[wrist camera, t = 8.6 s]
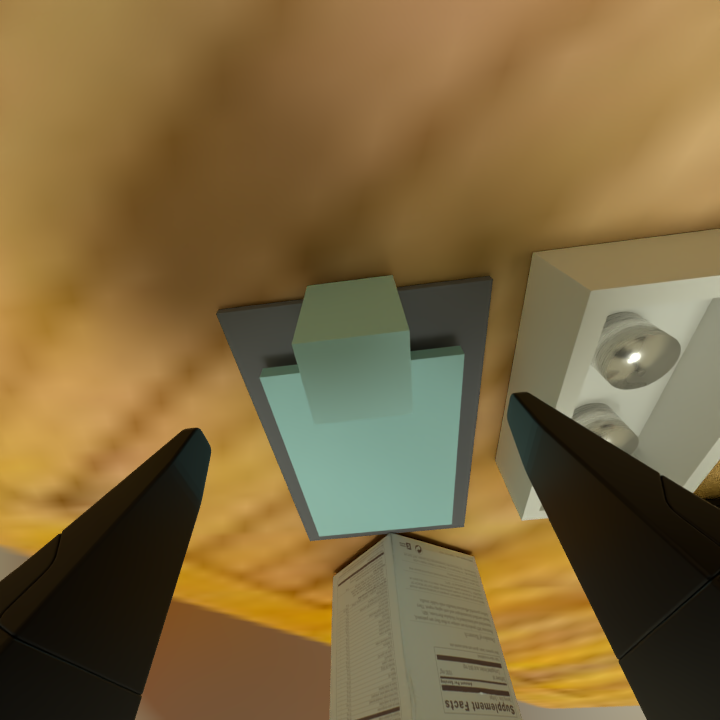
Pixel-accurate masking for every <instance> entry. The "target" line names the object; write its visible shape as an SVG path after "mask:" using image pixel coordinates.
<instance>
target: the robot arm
mask: <svg viewBox="0 0 720 720" xmlns="http://www.w3.org/2000/svg"><path fill="white" fill-rule="evenodd" d="M507 421H508V424H509V427H510V430H511V432H512V435H513V438H514V441H515V444H516V446H517V449H518V452H519V455H520V458H521V461H522V463H523V466H524V469H525V471H526V473H527V475H528V478H529V480H530V482H531V484H532V486H533V488H534V490H535V492H536V494H537V496H538V498H539V500H540V502H541V504H542V506H543V508H544V510H545V512H546V514H547V516H548V518H549V521H550V523H551V525H552V527H553V529H554V531H555V533H556V535H557V537H558V539H559V541H560V543H561V545H562V547H563V549H564V551H565V553H566V555H567V557H568V559H569V561H570V563H571V565H572V567H573V569H574V572H575V574H576V576H577V578H578V580H579V582H580V584H581V586H582V588H583V590H584V592H585V594H586V596H587V598H588V600H589V602H590V604H591V606H592V608H593V610H594V612H595V614H596V616H597V618H598V620H599V623H600V625H601V627H602V629H603V631H604V633H605V635H606V637H607V639H608V641H609V643H610V645H611V647H612V649H613V651H614V653H615V655H616V657H617V659H619V664H620V666H621V668H622V670H623V672H624V674H625V676H626V678H627V680H628V682H629V684H630V686H631V688H632V690H633V692H634V694H635V696H636V699H637V701H638V703H639V705H640V707H641V709H642V711H643V713H644V715H645V717H646V719H647V720H720V499H715V500H704V499H702V498H700V497H699V496H697V495H695V494H694V493H692V492H690V491H689V490H687V489H685V488H684V487H682V486H680V485H679V484H677V483H675V482H674V481H672V480H670V479H669V478H667V477H666V476H664V475H661V476H660V473H659V472H657V471H656V470H654V469H652V468H651V467H649V466H647V465H646V464H644V463H643V462H641V461H639V460H638V459H636V458H634V457H633V456H631V455H630V454H628V453H626V452H625V451H623V450H621V449H620V448H618V447H617V446H615V445H613V444H612V443H610V442H608V441H607V440H605V439H604V438H602V437H600V436H599V435H597V434H595V433H594V432H592V431H591V430H589V429H587V428H586V427H584V426H582V425H581V424H579V423H578V422H576V421H574V420H573V419H571V418H569V417H568V416H566V415H565V414H563V413H561V412H560V411H558V410H556V409H555V408H553V407H552V406H550V405H548V404H547V403H545V402H543V401H542V400H540V399H539V398H537V397H535V396H534V395H532V394H530V393H529V392H516V393H512V394H511V396H510V400H509V405H508V410H507ZM210 456H211V447H210V445H209V443H208V441H207V439H206V438H205V436H204V434H203V432H202V431H201V429H199V428H189V429H184V430H182V431H181V432H180V433H179V434H177V435H176V436H175V437H174V438H173V439H172V440H170V441H169V442H168V443H167V444H166V445H164V446H163V447H162V448H161V449H160V450H158V451H157V452H156V453H155V454H154V455H152V456H151V457H150V458H149V459H148V460H146V461H145V462H144V463H143V464H142V465H141V466H139V467H138V468H137V469H136V470H135V471H133V472H132V473H131V474H130V475H129V476H127V477H126V478H125V479H124V480H123V481H121V482H120V483H119V484H118V485H117V486H115V487H114V488H113V489H112V490H111V491H110V492H108V493H107V494H106V495H105V496H104V497H102V498H101V499H100V500H99V501H98V502H96V503H95V504H94V505H93V506H92V507H90V508H89V509H88V510H87V511H86V512H84V513H83V514H82V515H81V516H80V517H78V518H77V519H76V520H75V521H74V522H73V523H71V524H70V525H69V526H68V527H67V528H65V529H64V530H63V531H62V534H58V535H57V536H56V537H55V538H53V539H52V540H51V541H50V542H49V543H47V544H46V545H45V546H44V547H43V548H41V549H40V550H39V551H38V552H37V553H35V554H34V555H33V556H32V557H30V558H29V559H28V560H27V561H26V562H24V563H23V564H22V565H21V566H20V567H18V568H17V569H16V570H14V571H13V572H12V573H10V574H9V575H8V576H7V577H5V578H4V579H3V580H1V581H0V720H135V717H136V714H137V711H138V707H139V704H140V701H141V697H142V696H141V694H142V693H143V690H144V687H145V684H146V680H147V677H148V674H149V670H150V668H151V664H152V661H153V658H154V655H155V651H156V648H157V645H158V642H159V638H160V635H161V632H162V629H163V625H164V622H165V619H166V616H167V612H168V609H169V606H170V603H171V600H172V596H173V593H174V590H175V587H176V583H177V580H178V577H179V574H180V570H181V567H182V564H183V561H184V557H185V554H186V551H187V548H188V544H189V541H190V538H191V535H192V531H193V528H194V525H195V522H196V518H197V515H198V512H199V508H200V505H201V501H202V497H203V492H204V487H205V482H206V476H207V471H208V466H209V461H210Z"/></svg>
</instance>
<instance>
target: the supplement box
mask: <svg viewBox="0 0 720 720" xmlns="http://www.w3.org/2000/svg"><path fill="white" fill-rule="evenodd" d="M330 720H522V717H521V714H520V710H519V707H518V703H517V700H516V696H515V693H514V690H513V686H512V683H511V680H510V676H509V673H508V670H507V666H506V663H505V660H504V656H503V653H502V649H501V646H500V643H499V639H498V636H497V632H496V629H495V626H494V622H493V619H492V616H491V612H490V609H489V606H488V602H487V599H486V595H485V592H484V589H483V585H482V582H481V578H480V575H479V572H478V568H477V565H476V562H475V558H474V556H470V555H467V554H464V553H460V552H457V551H453V550H450V549H446V548H443V547H439V546H436V545H433V544H429V543H426V542H422V541H419V540H415V539H412V538H408V537H405V536H401V535H398V534H395V533H389V534H388V535H387V536H386V537H384V538H383V539H382V540H380V541H379V542H378V543H377V544H375V545H374V546H373V547H371V548H370V549H369V550H367V551H366V552H365V553H363V554H362V555H361V556H359V557H358V558H357V559H355V560H354V561H353V562H352V563H350V564H349V565H348V566H346V567H345V568H344V569H343V570H341V571H340V572H339V573H337V574H336V575H335V576H333V602H332V645H331V686H330Z"/></svg>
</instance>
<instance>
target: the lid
mask: <svg viewBox="0 0 720 720" xmlns="http://www.w3.org/2000/svg"><path fill="white" fill-rule="evenodd" d="M292 347H293V351H294V354H295V358H296V361H297V365H288V366H280V367H271V368H263V369H262V372H261V375H260V380H261V383H262V386H263V388H264V391H265V394H266V396H267V399H268V402H269V404H270V407H271V409H272V412H273V415H274V417H275V420H276V423H277V425H278V428H279V431H280V433H281V436H282V439H283V441H284V444H285V447H286V449H287V452H288V455H289V457H290V460H291V463H292V465H293V468H294V470H295V473H296V476H297V478H298V481H299V484H300V486H301V489H302V492H303V494H304V497H305V500H306V502H307V505H308V508H309V510H310V513H311V516H312V518H313V521H314V524H315V526H316V529H317V531H318V534H319V536H330V535H341V534H352V533H363V532H374V531H385V530H395V529H406V528H417V527H428V526H439V525H450V524H452V515H453V501H454V488H455V475H456V461H457V448H458V435H459V421H460V408H461V394H462V381H463V368H464V352H463V350H462V348H461V346H452V347H443V348H434V349H426V350H417V351H410V330H409V327H408V324H407V320H406V317H405V314H404V310H403V307H402V304H401V301H400V297H399V294H398V291H397V288H396V284H395V281H394V278H393V275H389V276H381V277H373V278H365V279H357V280H349V281H341V282H334V283H326V284H318V285H310V286H307V288H306V292H305V296H304V300H303V303H302V307H301V311H300V315H299V318H298V322H297V326H296V330H295V334H294V337H293V341H292Z"/></svg>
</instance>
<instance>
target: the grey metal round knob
mask: <svg viewBox="0 0 720 720" xmlns="http://www.w3.org/2000/svg"><path fill="white" fill-rule="evenodd" d="M680 353H681V346H680V343H679V342H678V340H676V339H675V338H674V337H672V336H671V335H669V334H667V333H666V332H664V331H663V330H661V329H660V328H658V327H657V326H655V325H653V324H652V323H650V322H649V321H647V320H646V319H644V318H642V317H641V316H639V315H638V314H636V313H633V312H618V313H614V314H611V315H608V316H607V318H606V321H605V324H604V327H603V330H602V333H601V335H600V338H599V341H598V344H597V347H596V350H595V353H594V355H593V358H592V361H591V364H590V365H591V366H592V367H593V368H594V369H595V370H596V371H597V372H598V373H599V374H600V375H601V376H602V377H603V378H604V379H605V380H606V381H608V382H609V383H610V384H611V385H612V386H613V387H615V388H618V389H623V390H630V389H637V388H641V387H644V386H646V385H649V384H651V383H653V382H655V381H657V380H658V379H660V378H661V377H663V376H664V375H665V374H666V373H668V372H669V371H670V370H671V369H672V368H673V366H674V365H675V364H676V362H677V361H678V359H679V356H680Z"/></svg>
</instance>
